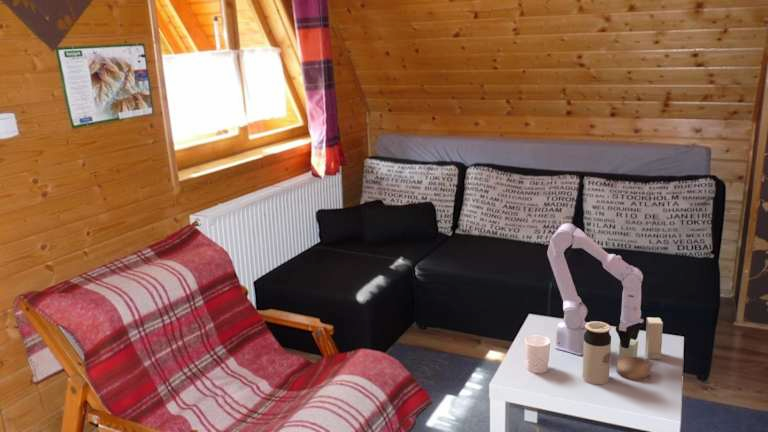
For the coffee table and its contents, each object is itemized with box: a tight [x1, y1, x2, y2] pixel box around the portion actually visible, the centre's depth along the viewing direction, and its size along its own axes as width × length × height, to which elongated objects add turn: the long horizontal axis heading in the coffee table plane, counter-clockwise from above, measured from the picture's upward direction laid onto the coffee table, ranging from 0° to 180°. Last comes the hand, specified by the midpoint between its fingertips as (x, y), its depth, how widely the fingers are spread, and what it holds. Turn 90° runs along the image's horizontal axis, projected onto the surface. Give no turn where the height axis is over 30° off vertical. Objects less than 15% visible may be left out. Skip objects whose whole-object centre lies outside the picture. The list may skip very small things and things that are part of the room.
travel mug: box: [581, 320, 612, 385], centre depth 199 cm, size 8×8×18 cm
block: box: [618, 339, 639, 360], centre depth 213 cm, size 4×4×6 cm
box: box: [644, 316, 664, 360], centre depth 212 cm, size 5×4×13 cm
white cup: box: [524, 334, 551, 374], centre depth 208 cm, size 8×8×10 cm
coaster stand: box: [616, 357, 652, 382], centre depth 203 cm, size 10×10×3 cm
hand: (629, 343), depth 212 cm, fingers open, 7 cm apart
